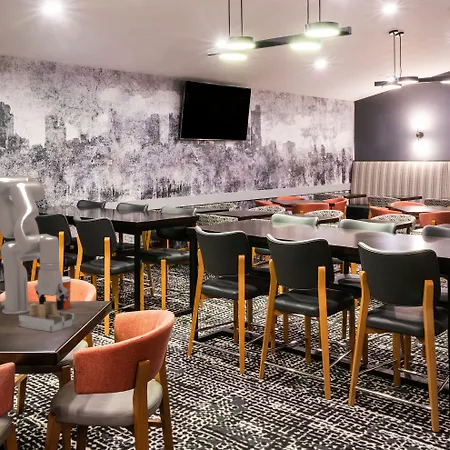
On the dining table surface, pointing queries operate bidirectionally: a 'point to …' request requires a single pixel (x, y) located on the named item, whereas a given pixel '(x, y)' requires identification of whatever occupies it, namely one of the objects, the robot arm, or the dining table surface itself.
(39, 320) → the rack
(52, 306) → the beech board
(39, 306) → the oak board
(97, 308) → the dining table surface
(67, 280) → the paper cup
